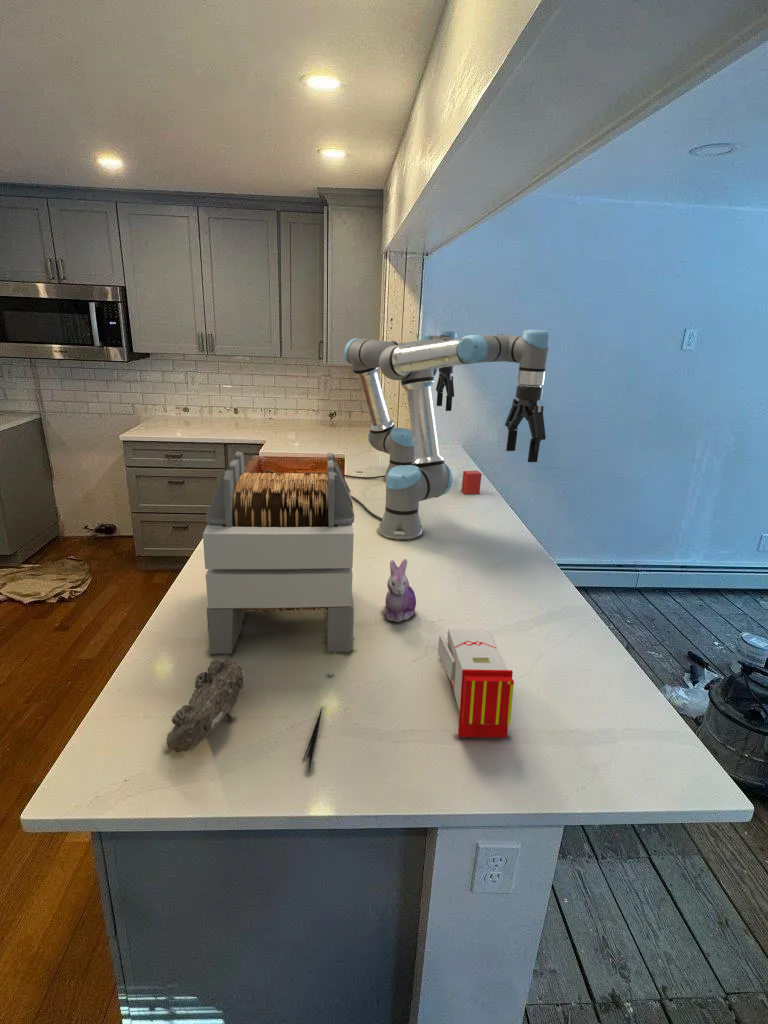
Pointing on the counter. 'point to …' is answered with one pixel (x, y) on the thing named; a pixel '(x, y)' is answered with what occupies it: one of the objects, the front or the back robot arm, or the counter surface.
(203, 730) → the fossil
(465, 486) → the block
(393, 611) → the figurine
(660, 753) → the counter surface
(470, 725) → the toy
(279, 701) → the counter surface
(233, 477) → the record crate
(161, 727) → the counter surface
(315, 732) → the feather
